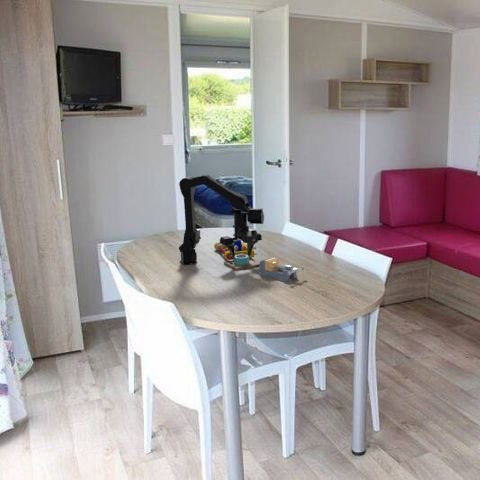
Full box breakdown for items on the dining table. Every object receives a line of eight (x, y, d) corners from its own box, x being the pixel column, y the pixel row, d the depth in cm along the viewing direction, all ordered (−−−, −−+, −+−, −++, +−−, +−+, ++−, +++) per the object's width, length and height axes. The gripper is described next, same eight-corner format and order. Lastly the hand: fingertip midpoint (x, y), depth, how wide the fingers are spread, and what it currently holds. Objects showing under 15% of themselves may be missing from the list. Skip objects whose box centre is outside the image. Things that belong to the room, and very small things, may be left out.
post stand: (235, 270, 235) (235, 259, 234) (223, 264, 245) (223, 253, 244) (259, 266, 240) (259, 255, 239) (246, 260, 251) (246, 249, 250)
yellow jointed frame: (227, 249, 242) (213, 237, 270) (227, 262, 243) (213, 249, 272) (266, 245, 246) (248, 234, 275) (266, 258, 248) (248, 246, 276)
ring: (238, 265, 238) (238, 258, 238) (232, 262, 244) (231, 255, 243) (251, 263, 241) (251, 256, 240) (244, 260, 247) (244, 253, 246)
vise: (256, 275, 228) (256, 260, 226) (272, 270, 235) (272, 255, 233) (289, 284, 216) (289, 268, 214) (305, 277, 223) (305, 262, 221)
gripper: (230, 229, 227) (231, 264, 231) (267, 224, 235) (268, 258, 239) (218, 224, 237) (219, 258, 240) (255, 219, 245) (256, 252, 249)
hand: (241, 257), depth 242 cm, fingers open, 8 cm apart
